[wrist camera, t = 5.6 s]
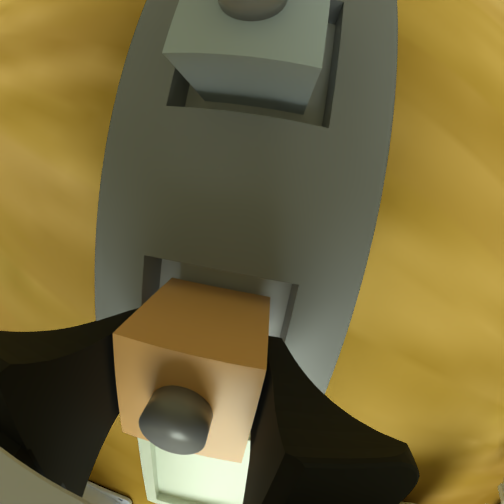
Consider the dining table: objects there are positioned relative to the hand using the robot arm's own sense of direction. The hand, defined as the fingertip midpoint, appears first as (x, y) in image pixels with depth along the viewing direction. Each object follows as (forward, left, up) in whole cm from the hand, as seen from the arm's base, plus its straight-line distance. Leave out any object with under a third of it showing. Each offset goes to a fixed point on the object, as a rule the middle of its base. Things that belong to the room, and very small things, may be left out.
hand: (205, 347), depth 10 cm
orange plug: (0, 0, -2) cm, 2 cm away
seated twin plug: (0, +11, -3) cm, 11 cm away
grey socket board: (0, +6, -3) cm, 6 cm away
